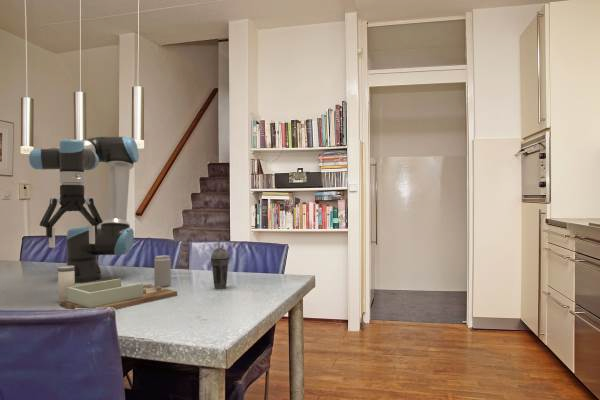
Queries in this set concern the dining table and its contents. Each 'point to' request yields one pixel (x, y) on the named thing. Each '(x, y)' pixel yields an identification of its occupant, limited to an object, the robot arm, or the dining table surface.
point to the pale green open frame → (103, 293)
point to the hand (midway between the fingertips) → (72, 245)
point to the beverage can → (162, 271)
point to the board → (148, 295)
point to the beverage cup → (220, 267)
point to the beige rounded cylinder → (65, 281)
